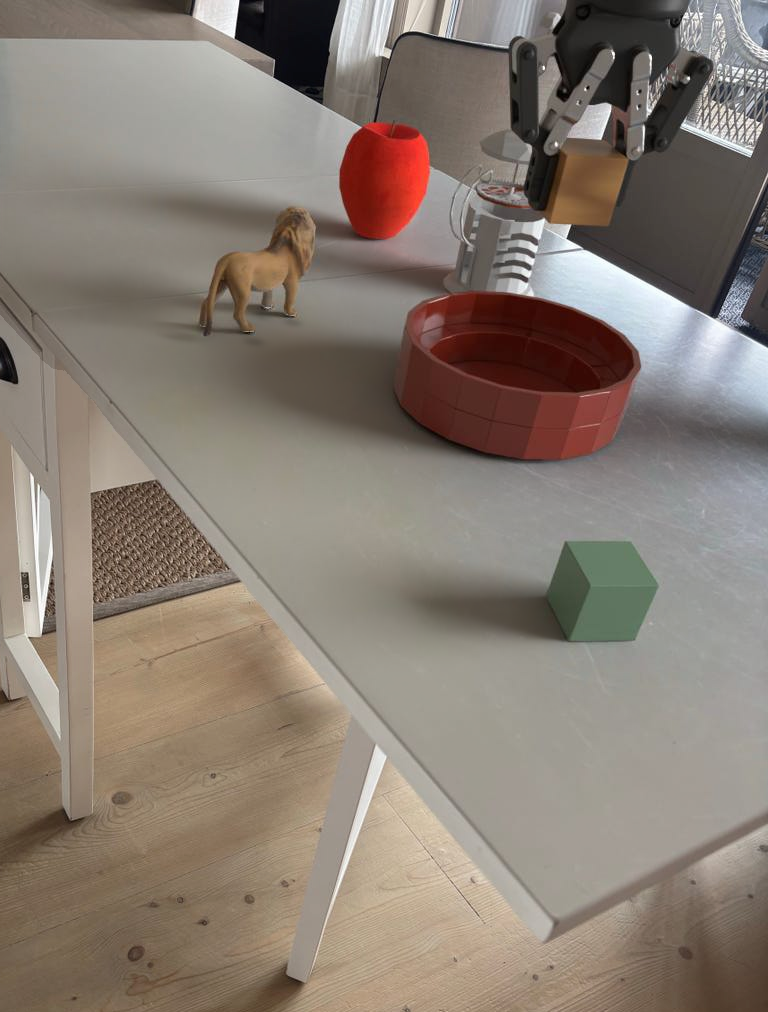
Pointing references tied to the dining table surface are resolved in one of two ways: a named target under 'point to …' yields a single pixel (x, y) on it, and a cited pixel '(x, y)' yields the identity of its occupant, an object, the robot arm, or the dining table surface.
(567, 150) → the block
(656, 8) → the robot arm
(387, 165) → the apple
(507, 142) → the french press
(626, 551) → the block
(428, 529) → the dining table surface
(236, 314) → the lion figurine
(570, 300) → the dining table surface
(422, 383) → the red shallow bowl
